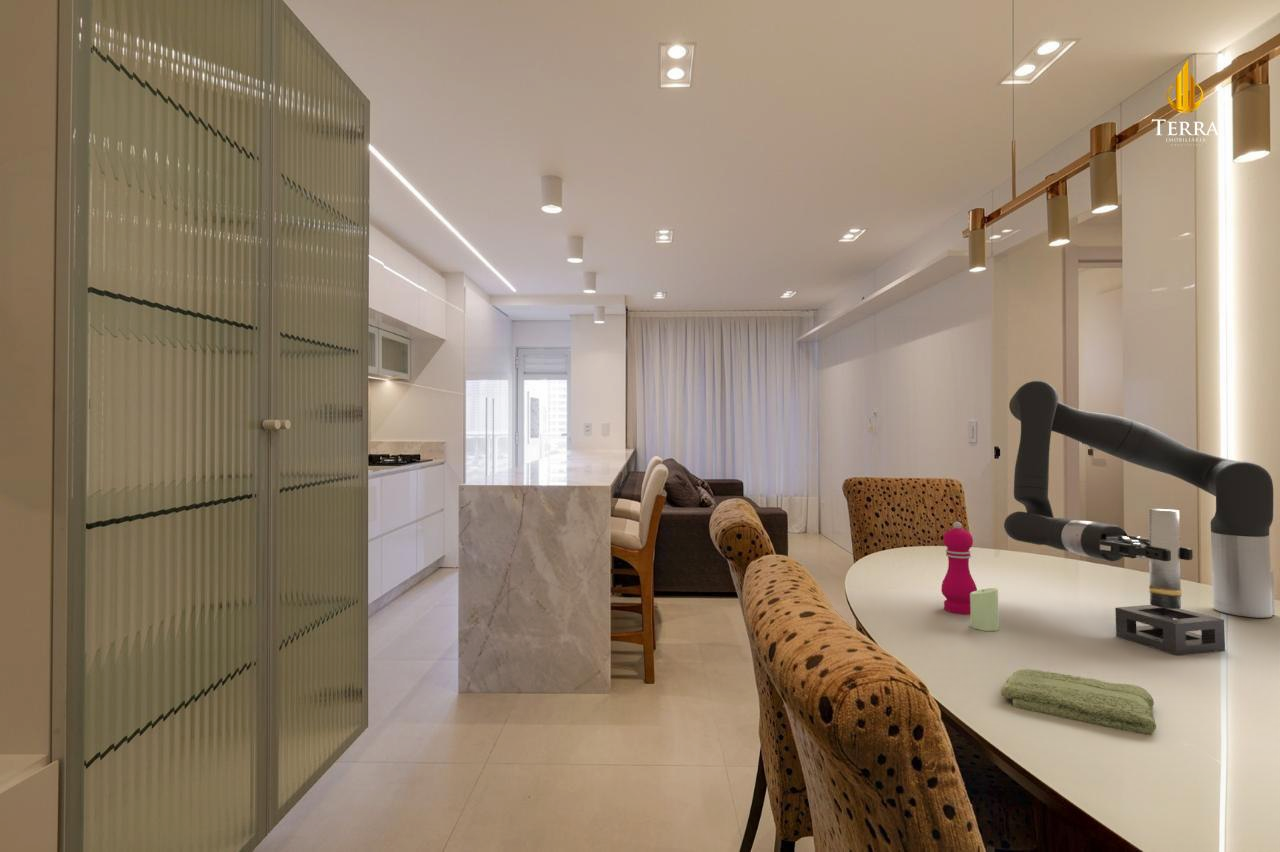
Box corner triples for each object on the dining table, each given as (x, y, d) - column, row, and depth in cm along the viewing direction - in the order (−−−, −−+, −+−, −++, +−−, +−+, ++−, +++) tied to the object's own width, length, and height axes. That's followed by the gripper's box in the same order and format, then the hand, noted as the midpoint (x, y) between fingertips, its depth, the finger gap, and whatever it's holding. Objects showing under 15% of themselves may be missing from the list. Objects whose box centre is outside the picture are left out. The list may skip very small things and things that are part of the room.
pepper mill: (969, 606, 140) (967, 519, 141) (983, 615, 133) (981, 523, 134) (936, 605, 141) (934, 519, 141) (949, 614, 134) (947, 523, 134)
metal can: (1162, 601, 117) (1160, 508, 117) (1188, 608, 113) (1186, 511, 113) (1143, 602, 116) (1141, 508, 117) (1168, 609, 112) (1166, 511, 112)
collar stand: (1161, 631, 121) (1160, 603, 121) (1224, 650, 110) (1223, 619, 110) (1116, 635, 118) (1115, 607, 118) (1176, 655, 108) (1175, 624, 108)
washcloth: (1011, 679, 99) (1011, 659, 99) (1153, 708, 88) (1153, 685, 88) (999, 707, 89) (998, 684, 89) (1158, 743, 78) (1157, 718, 78)
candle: (967, 628, 124) (966, 587, 125) (974, 622, 128) (973, 583, 128) (995, 633, 121) (994, 591, 121) (1001, 627, 125) (1000, 587, 125)
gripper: (1065, 522, 127) (1148, 536, 110) (1121, 520, 130) (1210, 533, 113) (1065, 558, 127) (1149, 577, 110) (1121, 555, 130) (1211, 573, 113)
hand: (1179, 555), depth 112 cm, fingers closed on metal can, 4 cm apart
